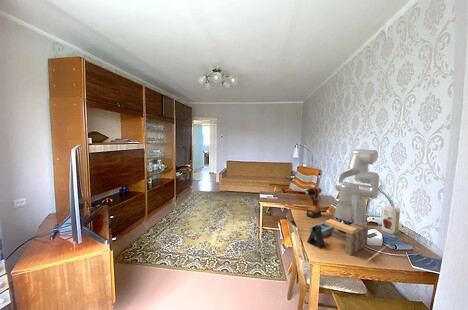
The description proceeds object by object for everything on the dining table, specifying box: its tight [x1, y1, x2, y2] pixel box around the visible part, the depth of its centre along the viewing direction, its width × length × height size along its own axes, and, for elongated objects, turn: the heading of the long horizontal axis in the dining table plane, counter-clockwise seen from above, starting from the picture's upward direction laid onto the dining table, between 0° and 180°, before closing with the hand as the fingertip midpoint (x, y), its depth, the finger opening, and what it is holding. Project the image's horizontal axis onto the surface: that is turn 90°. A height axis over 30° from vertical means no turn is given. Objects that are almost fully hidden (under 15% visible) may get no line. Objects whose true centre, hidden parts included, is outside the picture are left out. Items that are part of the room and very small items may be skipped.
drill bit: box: [340, 220, 347, 234], centre depth 132 cm, size 4×4×12 cm
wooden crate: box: [331, 224, 369, 256], centre depth 125 cm, size 23×18×13 cm
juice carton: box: [381, 204, 401, 235], centre depth 143 cm, size 8×9×19 cm
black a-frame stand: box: [306, 224, 326, 249], centre depth 125 cm, size 9×6×12 cm, turn 37°
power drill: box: [304, 186, 322, 219], centre depth 171 cm, size 22×7×25 cm, turn 129°
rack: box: [309, 221, 336, 238], centre depth 139 cm, size 16×9×5 cm, turn 125°
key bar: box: [324, 218, 357, 234], centre depth 119 cm, size 6×16×2 cm, turn 35°
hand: (343, 228), depth 132 cm, fingers closed on drill bit, 4 cm apart
